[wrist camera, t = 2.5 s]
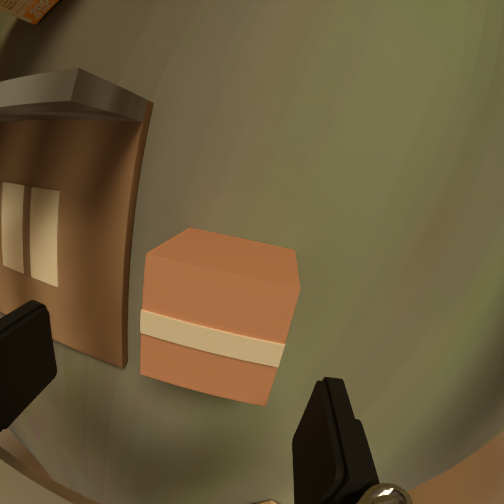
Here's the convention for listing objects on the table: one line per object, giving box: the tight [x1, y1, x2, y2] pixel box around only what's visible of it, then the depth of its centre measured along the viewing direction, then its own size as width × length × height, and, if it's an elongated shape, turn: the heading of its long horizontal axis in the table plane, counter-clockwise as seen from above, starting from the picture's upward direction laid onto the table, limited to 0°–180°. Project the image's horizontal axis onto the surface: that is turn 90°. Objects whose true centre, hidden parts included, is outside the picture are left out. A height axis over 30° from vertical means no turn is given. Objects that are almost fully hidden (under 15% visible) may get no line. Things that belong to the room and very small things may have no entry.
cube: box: [140, 228, 300, 406], centre depth 14 cm, size 6×6×6 cm
